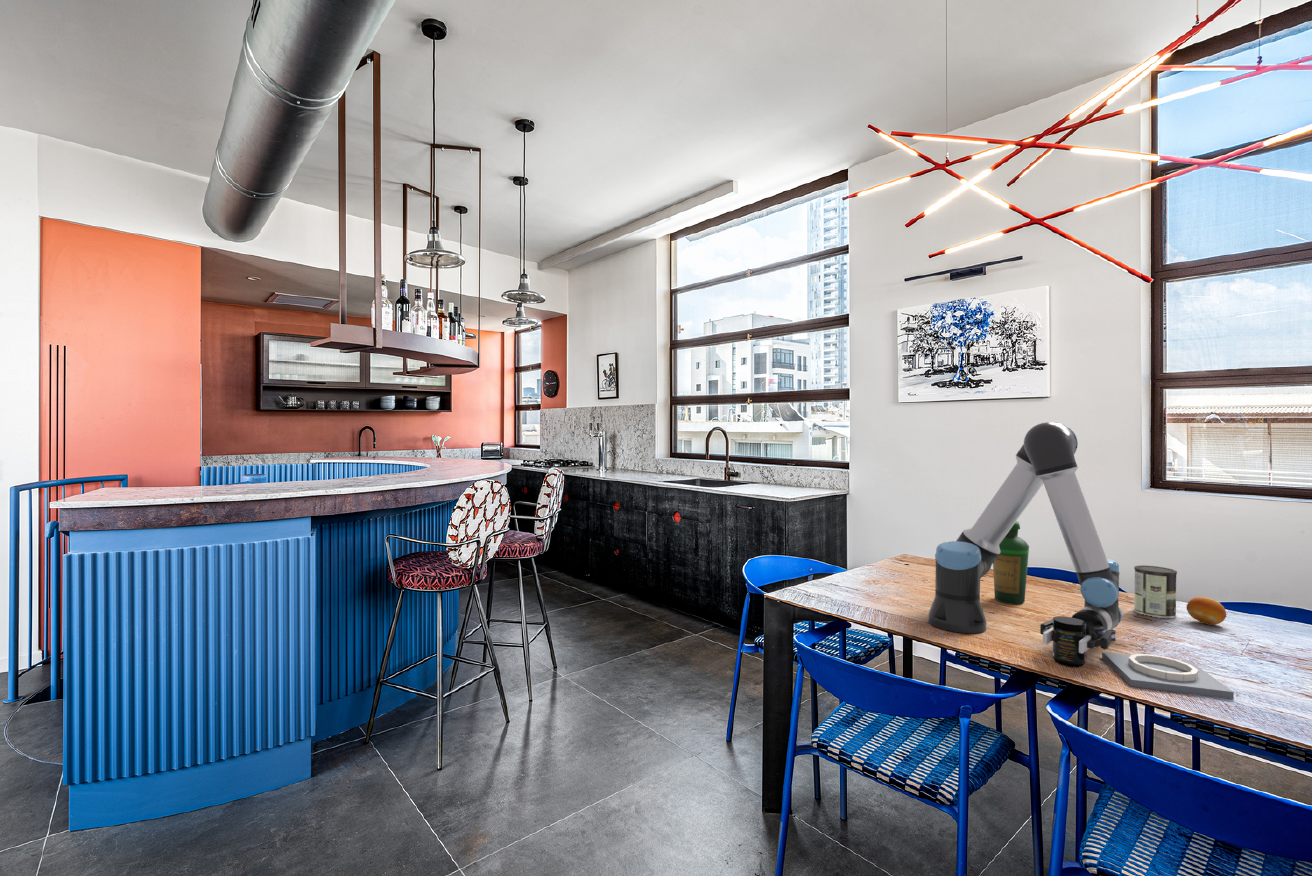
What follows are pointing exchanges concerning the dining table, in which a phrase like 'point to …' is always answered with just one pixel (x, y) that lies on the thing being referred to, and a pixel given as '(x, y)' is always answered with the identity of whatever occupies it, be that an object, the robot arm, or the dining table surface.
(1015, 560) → the bottle
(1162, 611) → the coffee can
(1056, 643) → the supplement container
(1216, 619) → the fruit
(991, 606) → the dining table surface
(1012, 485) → the robot arm
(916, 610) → the dining table surface
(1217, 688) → the ring board
